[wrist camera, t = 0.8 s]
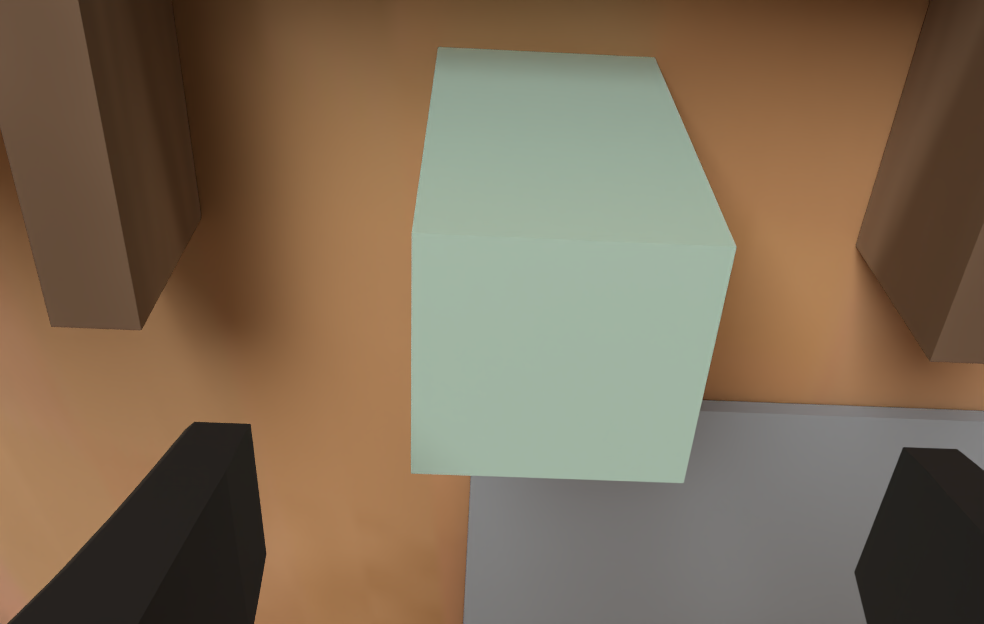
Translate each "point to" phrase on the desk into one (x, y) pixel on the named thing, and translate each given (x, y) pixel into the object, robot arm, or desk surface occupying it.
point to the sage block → (560, 271)
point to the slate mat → (705, 523)
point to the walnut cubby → (175, 202)
